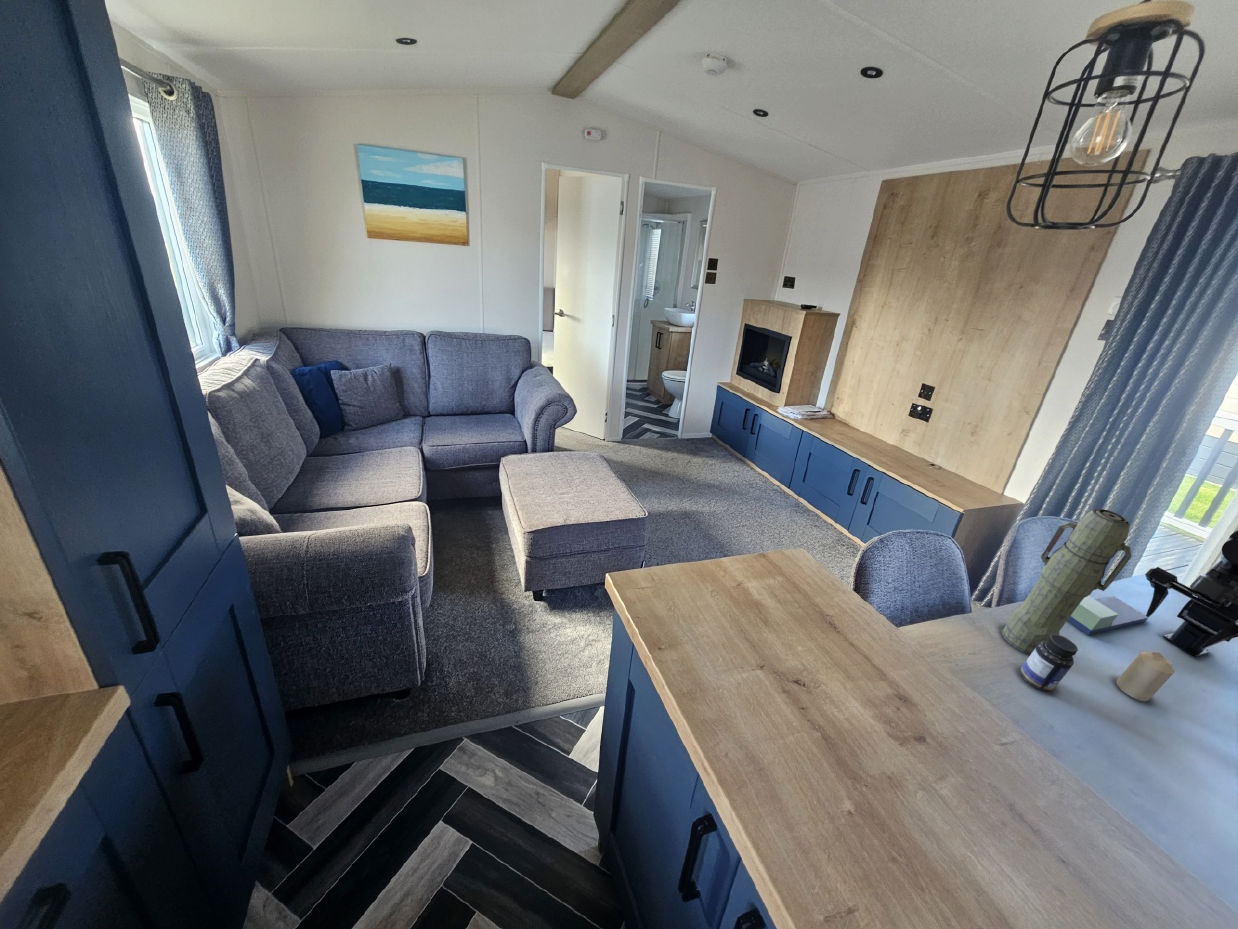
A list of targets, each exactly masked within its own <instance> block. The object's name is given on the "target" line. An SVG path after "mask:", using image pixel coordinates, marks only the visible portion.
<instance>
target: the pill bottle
mask: <svg viewBox="0 0 1238 929" xmlns="http://www.w3.org/2000/svg"><path fill="white" fill-rule="evenodd" d="M1078 651H1079V648H1078V646H1077V645H1076V644H1075V643H1074V642H1073V641H1072V640H1071V639H1069V638H1067V637H1066V636H1063V635H1061V634H1059V635H1057V634H1051V635H1050V636H1049V638H1048V639H1047V641H1044V642H1040V643H1039V644H1038V645H1037V647H1036V648H1035V649H1034V651H1033V652H1032V654H1031V655H1028V657H1027V659H1026V660H1025V662H1024V663H1023V664H1022V666H1021V667H1020V669H1019V673H1020V676H1021V677H1022V679H1023V680H1024V681H1025V682H1026V683H1027V684H1029V685H1030V686H1031V687H1032V688H1035V689H1036V690H1040V691H1043V692H1053V691H1054V690H1055V689H1056V687H1057V686H1058V685H1059V684H1060V682H1061V681H1062V680H1063V678H1064V677H1065V676H1066V675H1067V673H1068V672H1069V671H1070V670H1071V669H1072V667H1073V666H1074V664H1075V659H1074V656H1075V655H1077V653H1078Z"/></svg>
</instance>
